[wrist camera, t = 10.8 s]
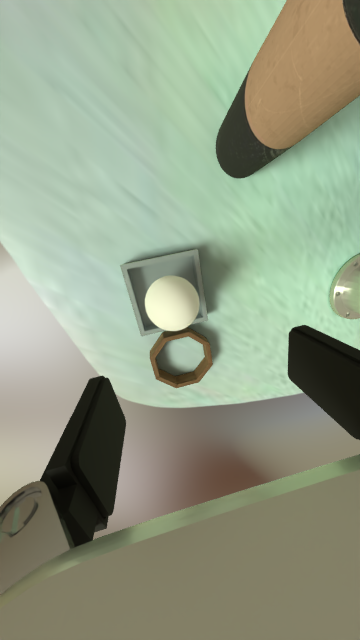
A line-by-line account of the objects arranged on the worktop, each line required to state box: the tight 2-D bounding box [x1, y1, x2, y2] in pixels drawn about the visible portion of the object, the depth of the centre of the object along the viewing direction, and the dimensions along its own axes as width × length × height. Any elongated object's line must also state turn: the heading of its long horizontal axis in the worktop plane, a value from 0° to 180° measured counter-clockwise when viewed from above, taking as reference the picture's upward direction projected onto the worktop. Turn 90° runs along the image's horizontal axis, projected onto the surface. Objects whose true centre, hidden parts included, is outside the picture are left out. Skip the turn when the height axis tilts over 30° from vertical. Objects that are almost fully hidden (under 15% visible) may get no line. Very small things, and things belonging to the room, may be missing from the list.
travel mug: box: [216, 0, 360, 178], centre depth 16 cm, size 8×8×20 cm
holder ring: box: [150, 327, 213, 388], centre depth 33 cm, size 10×10×2 cm
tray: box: [120, 249, 208, 336], centre depth 29 cm, size 11×11×3 cm
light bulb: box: [145, 276, 199, 331], centre depth 24 cm, size 7×7×11 cm
